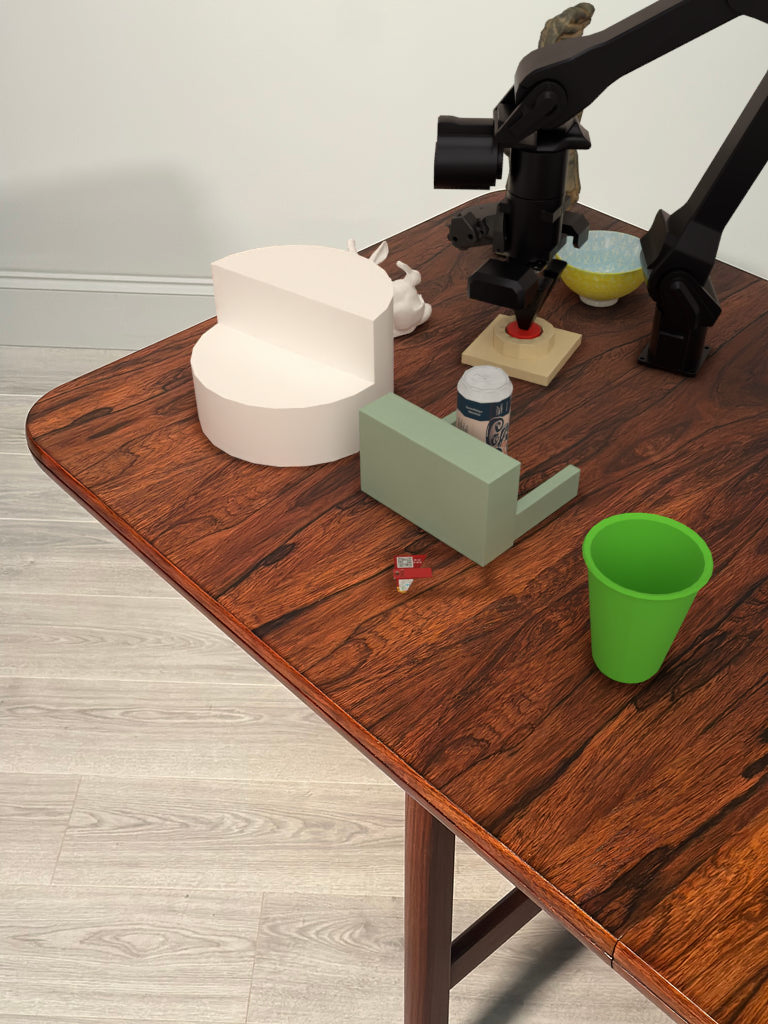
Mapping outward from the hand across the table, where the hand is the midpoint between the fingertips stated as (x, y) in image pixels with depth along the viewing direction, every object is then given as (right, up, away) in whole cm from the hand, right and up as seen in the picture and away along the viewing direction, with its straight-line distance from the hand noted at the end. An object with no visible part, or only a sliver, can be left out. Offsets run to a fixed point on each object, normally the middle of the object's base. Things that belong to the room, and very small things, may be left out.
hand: (524, 328), depth 113 cm
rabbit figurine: (-16, +2, +7) cm, 18 cm away
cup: (+3, -31, -33) cm, 46 cm away
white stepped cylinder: (-24, -9, -6) cm, 27 cm away
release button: (0, -1, +1) cm, 2 cm away
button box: (0, -2, +2) cm, 3 cm away
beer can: (-6, -18, -16) cm, 25 cm away
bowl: (+10, +5, +12) cm, 17 cm away
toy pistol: (-11, -25, -25) cm, 37 cm away
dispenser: (-7, -18, -17) cm, 26 cm away
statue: (+4, +14, +22) cm, 26 cm away
